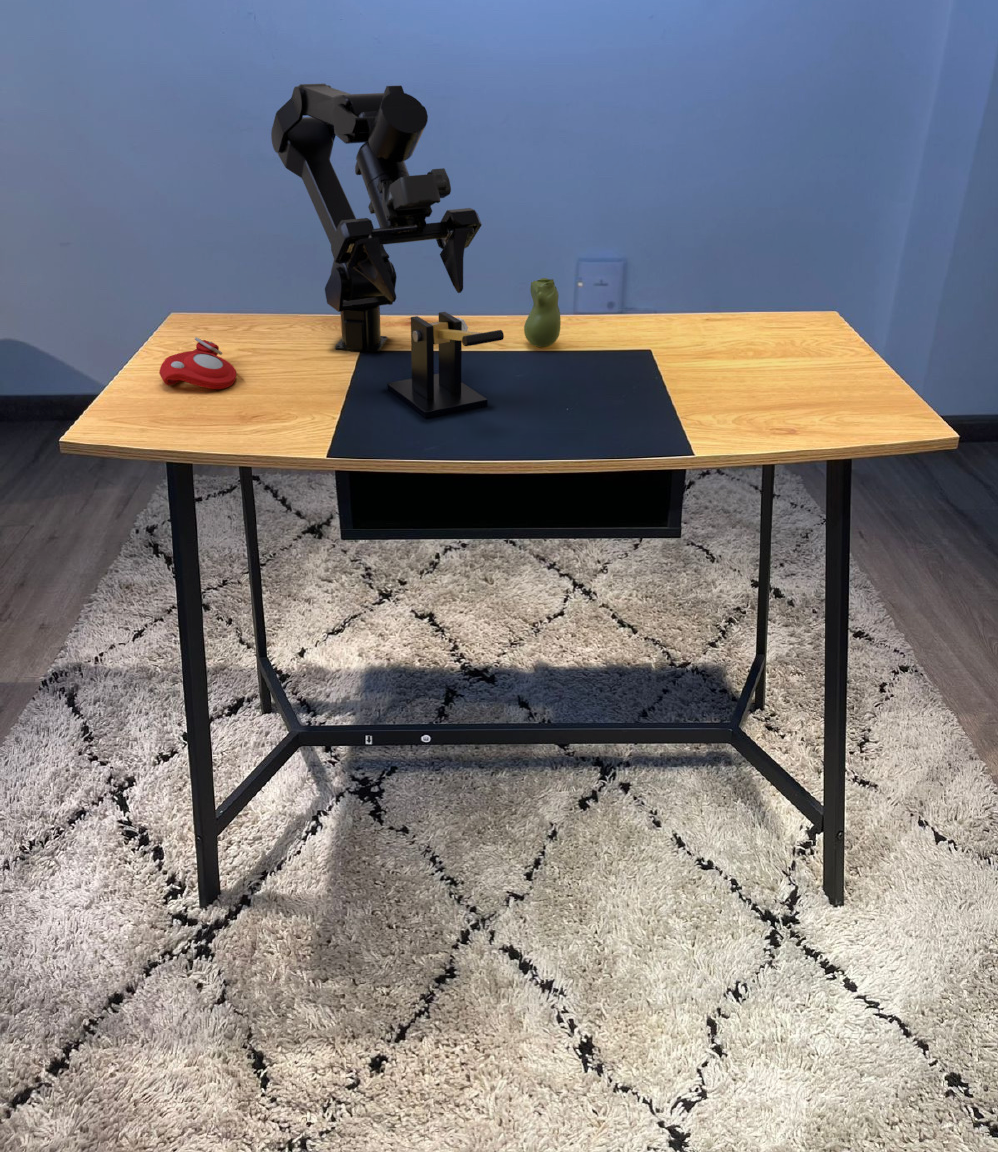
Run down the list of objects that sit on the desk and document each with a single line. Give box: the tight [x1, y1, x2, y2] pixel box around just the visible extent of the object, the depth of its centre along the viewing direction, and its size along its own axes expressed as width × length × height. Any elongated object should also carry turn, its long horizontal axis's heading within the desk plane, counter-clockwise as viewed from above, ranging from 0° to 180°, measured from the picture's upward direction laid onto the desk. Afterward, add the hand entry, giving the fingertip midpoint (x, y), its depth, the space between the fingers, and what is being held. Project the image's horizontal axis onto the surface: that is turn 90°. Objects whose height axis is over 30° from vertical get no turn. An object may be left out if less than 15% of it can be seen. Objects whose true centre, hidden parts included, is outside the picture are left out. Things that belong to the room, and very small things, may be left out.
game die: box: [456, 317, 469, 331], centre depth 153 cm, size 4×4×3 cm
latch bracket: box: [386, 311, 488, 420], centre depth 131 cm, size 11×9×11 cm
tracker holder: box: [158, 336, 237, 390], centre depth 137 cm, size 12×4×10 cm
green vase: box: [523, 277, 562, 348], centre depth 150 cm, size 6×5×10 cm
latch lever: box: [428, 321, 505, 347], centre depth 124 cm, size 14×5×2 cm, turn 31°
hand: (427, 295), depth 127 cm, fingers open, 9 cm apart
